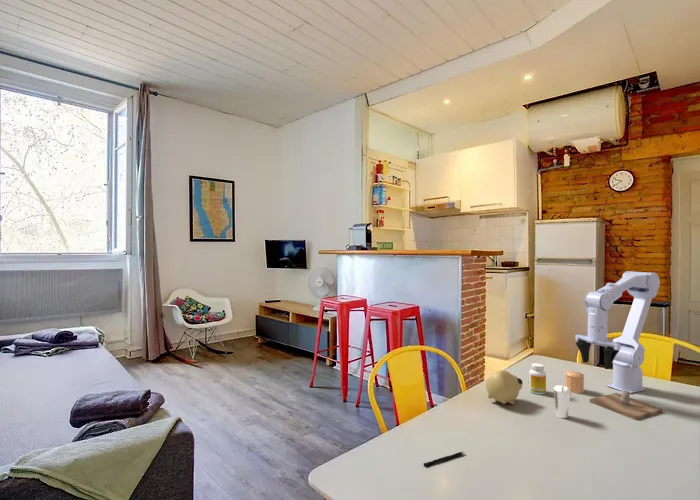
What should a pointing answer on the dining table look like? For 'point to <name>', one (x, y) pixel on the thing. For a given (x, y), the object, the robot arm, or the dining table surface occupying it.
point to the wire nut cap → (574, 381)
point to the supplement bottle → (537, 379)
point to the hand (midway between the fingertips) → (596, 365)
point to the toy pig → (503, 386)
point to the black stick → (443, 459)
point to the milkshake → (562, 400)
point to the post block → (626, 405)
